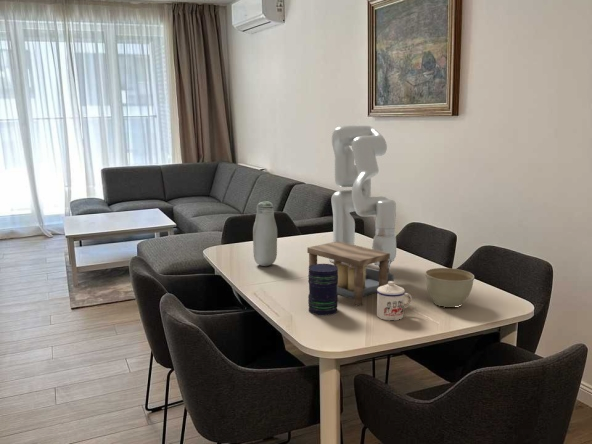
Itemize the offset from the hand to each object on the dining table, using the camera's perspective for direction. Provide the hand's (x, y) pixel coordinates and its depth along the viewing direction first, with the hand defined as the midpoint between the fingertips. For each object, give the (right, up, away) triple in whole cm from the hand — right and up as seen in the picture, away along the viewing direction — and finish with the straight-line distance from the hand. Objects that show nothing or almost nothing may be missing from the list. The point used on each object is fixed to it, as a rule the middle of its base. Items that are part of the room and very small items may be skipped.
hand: (384, 277), depth 222 cm
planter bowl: (+18, -7, -25) cm, 32 cm away
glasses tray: (-10, -3, -8) cm, 13 cm away
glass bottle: (-48, +3, +25) cm, 54 cm away
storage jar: (-25, -8, -32) cm, 41 cm away
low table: (-16, -4, -13) cm, 21 cm away
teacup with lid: (-2, -9, -37) cm, 38 cm away
